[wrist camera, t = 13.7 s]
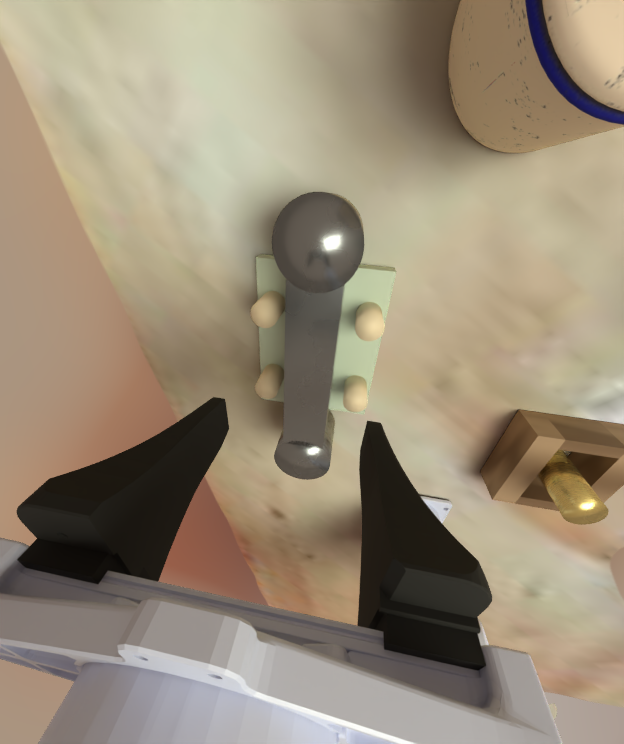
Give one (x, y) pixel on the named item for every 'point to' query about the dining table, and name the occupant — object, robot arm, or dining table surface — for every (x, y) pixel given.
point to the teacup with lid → (537, 71)
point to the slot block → (538, 445)
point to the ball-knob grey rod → (313, 320)
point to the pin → (571, 491)
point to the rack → (355, 340)
